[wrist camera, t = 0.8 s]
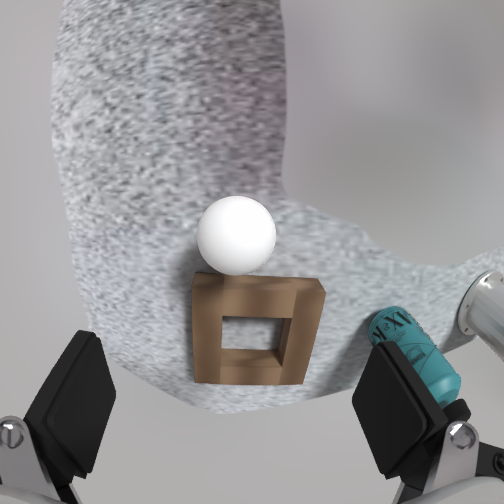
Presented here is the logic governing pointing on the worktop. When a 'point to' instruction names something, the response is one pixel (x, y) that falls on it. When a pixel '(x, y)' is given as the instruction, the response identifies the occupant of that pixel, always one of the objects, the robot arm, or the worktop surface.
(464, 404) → the beverage bottle
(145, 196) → the worktop surface
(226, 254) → the lightbulb
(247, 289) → the socket block
